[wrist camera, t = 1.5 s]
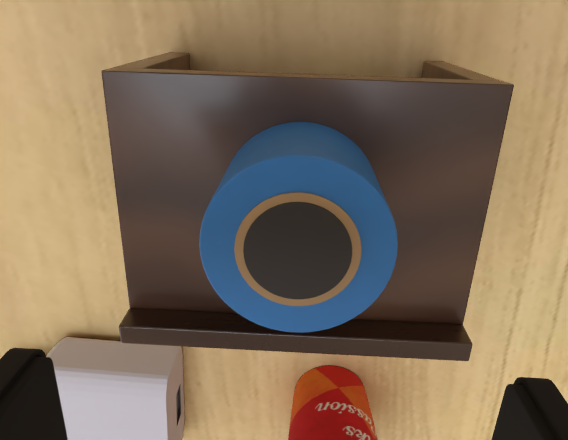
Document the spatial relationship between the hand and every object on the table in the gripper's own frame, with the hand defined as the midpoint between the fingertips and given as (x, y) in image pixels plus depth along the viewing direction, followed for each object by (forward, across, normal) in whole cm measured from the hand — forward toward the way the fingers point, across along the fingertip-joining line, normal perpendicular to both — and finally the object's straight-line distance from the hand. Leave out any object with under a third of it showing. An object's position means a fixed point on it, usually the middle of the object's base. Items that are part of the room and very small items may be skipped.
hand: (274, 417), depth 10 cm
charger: (+22, +16, +19) cm, 33 cm away
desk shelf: (+22, 0, 0) cm, 22 cm away
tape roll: (+12, 0, -1) cm, 12 cm away
